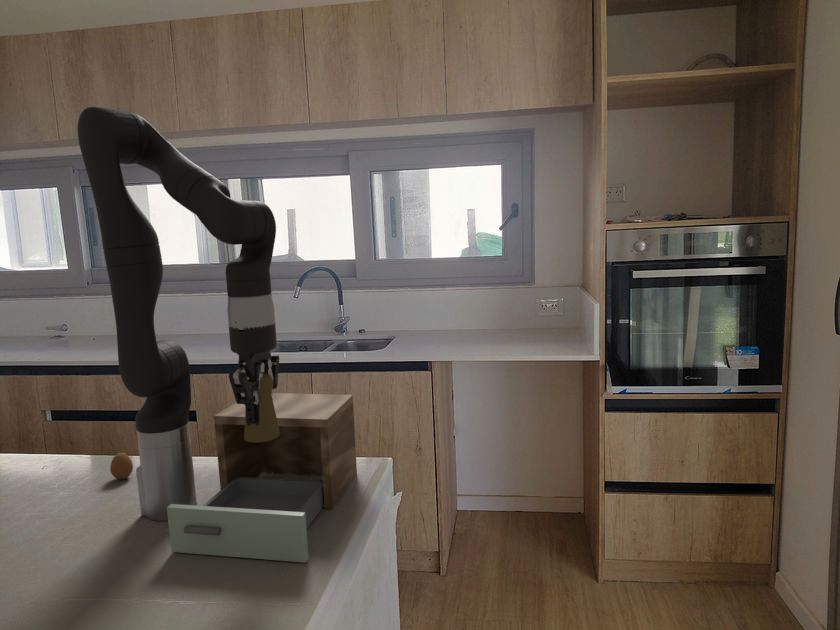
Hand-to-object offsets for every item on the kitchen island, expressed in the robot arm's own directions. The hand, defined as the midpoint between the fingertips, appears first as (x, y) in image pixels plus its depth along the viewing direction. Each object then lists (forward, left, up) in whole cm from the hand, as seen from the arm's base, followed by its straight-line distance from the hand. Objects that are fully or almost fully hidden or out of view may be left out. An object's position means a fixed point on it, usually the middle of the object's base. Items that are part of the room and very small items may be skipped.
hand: (260, 420), depth 100 cm
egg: (-44, +19, -22) cm, 52 cm away
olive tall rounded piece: (0, 0, -3) cm, 3 cm away
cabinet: (-4, +19, -21) cm, 29 cm away
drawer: (-2, +3, -21) cm, 21 cm away
